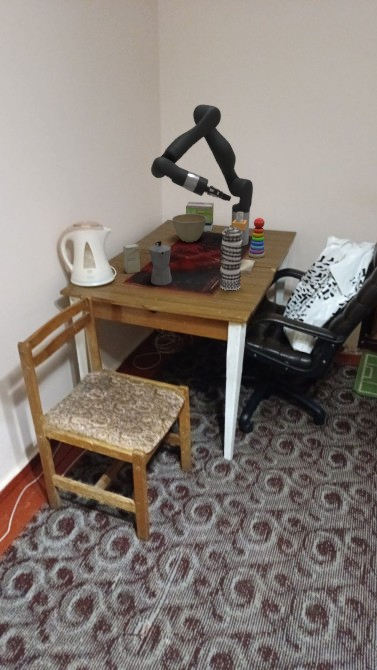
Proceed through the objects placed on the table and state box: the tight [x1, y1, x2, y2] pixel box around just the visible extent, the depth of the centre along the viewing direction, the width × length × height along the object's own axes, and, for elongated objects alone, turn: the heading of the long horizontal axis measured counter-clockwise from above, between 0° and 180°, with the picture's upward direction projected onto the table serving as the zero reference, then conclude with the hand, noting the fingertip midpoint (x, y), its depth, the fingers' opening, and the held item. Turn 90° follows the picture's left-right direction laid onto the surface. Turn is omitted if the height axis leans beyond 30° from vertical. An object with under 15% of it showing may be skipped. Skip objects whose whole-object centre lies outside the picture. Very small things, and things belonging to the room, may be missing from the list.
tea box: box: [185, 201, 215, 233], centre depth 265 cm, size 15×10×15 cm, turn 81°
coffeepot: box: [148, 240, 173, 286], centre depth 195 cm, size 15×9×18 cm, turn 13°
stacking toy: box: [248, 217, 266, 259], centre depth 222 cm, size 8×8×19 cm
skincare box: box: [122, 243, 141, 274], centre depth 207 cm, size 6×4×12 cm
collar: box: [231, 220, 247, 230], centre depth 203 cm, size 6×6×3 cm
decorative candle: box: [219, 226, 244, 291], centre depth 186 cm, size 9×9×25 cm
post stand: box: [219, 212, 256, 275], centre depth 206 cm, size 14×14×26 cm
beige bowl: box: [171, 213, 206, 243], centre depth 247 cm, size 18×18×12 cm
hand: (228, 198), depth 201 cm, fingers open, 8 cm apart
